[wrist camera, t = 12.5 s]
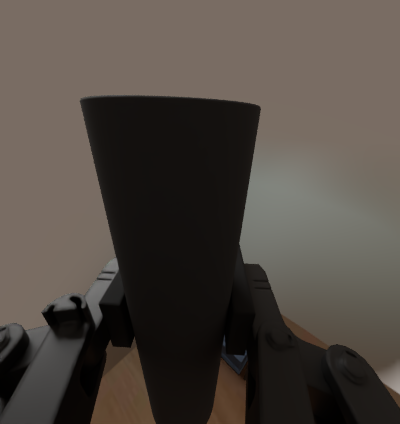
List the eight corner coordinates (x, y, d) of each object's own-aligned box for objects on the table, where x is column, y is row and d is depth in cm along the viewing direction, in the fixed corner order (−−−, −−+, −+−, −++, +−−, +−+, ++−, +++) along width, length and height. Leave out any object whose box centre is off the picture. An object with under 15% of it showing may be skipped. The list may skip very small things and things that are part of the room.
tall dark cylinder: (139, 389, 12) (60, 101, 4) (187, 343, 14) (186, 110, 7) (176, 466, 9) (134, 86, 2) (227, 394, 12) (293, 108, 4)
